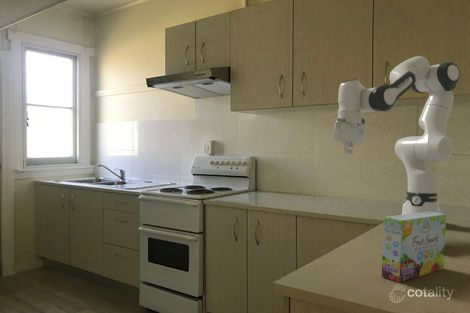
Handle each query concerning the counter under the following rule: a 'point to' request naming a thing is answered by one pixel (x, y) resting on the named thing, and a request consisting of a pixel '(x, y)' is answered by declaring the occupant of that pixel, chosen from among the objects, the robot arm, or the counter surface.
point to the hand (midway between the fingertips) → (348, 153)
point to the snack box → (413, 245)
